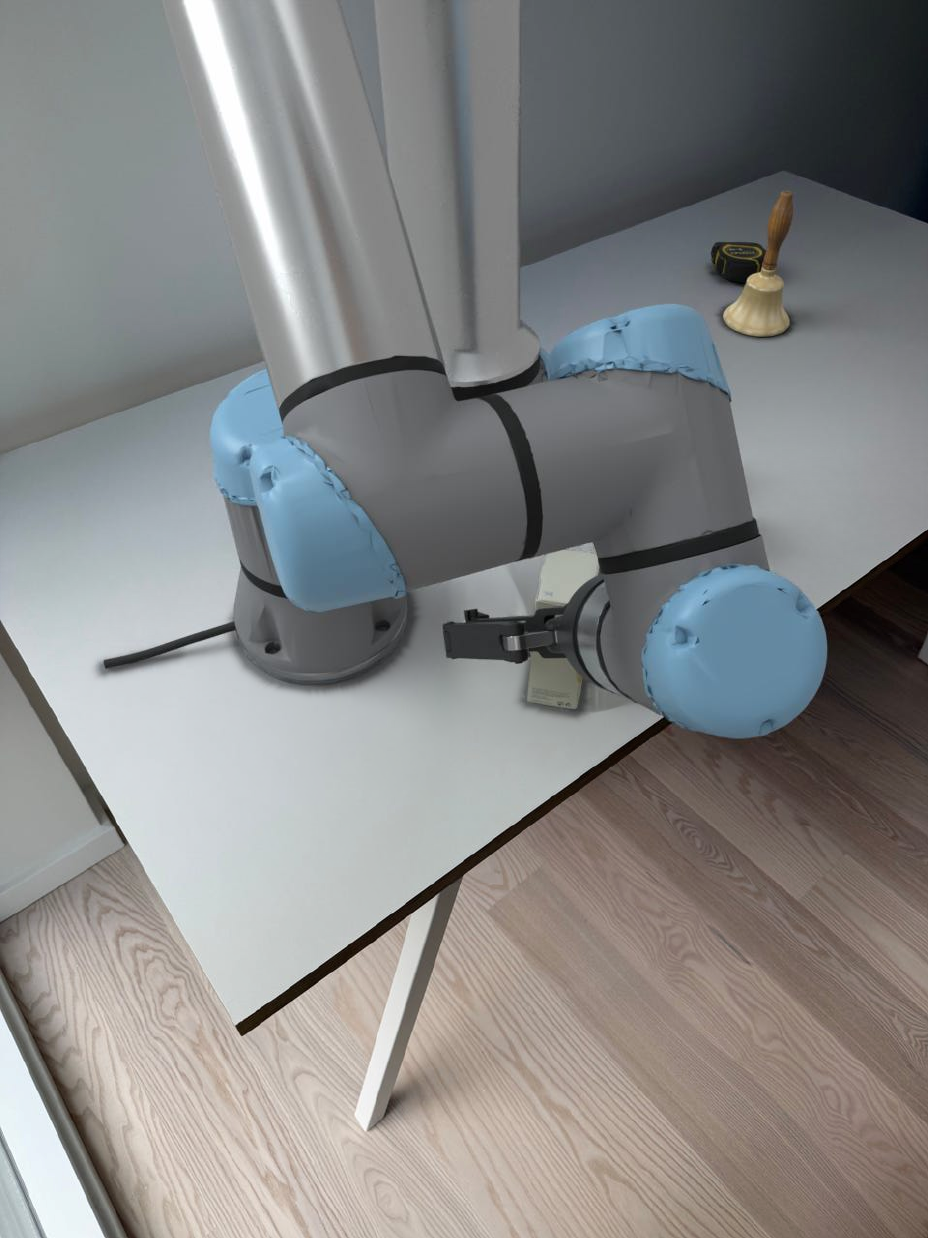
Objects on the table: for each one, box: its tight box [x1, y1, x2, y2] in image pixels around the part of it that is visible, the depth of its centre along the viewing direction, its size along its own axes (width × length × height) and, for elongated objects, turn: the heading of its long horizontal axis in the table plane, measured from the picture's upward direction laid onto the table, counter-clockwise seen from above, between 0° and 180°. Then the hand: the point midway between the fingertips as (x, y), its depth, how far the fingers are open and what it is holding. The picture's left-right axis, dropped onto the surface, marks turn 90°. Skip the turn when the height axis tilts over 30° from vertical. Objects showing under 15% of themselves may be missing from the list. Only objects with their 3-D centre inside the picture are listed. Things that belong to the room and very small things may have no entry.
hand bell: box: [722, 190, 794, 338], centre depth 108 cm, size 8×8×16 cm
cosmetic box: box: [526, 548, 600, 710], centre depth 71 cm, size 6×4×12 cm
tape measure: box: [710, 241, 767, 283], centre depth 121 cm, size 7×7×4 cm
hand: (554, 617), depth 73 cm, fingers open, 13 cm apart
